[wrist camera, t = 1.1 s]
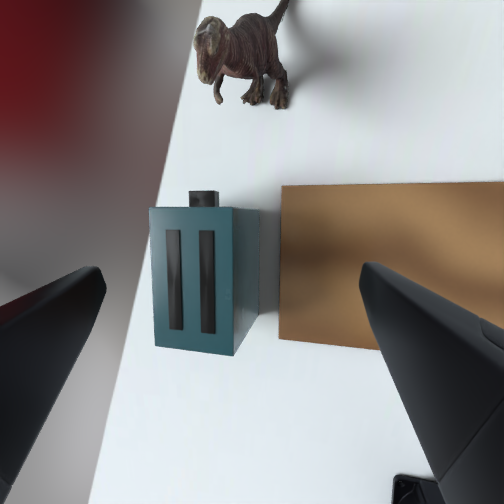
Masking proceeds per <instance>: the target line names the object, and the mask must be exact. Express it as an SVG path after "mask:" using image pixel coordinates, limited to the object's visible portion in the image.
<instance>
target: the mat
mask: <svg viewBox="0 0 504 504" xmlns="http://www.w3.org/2000/svg"><path fill="white" fill-rule="evenodd" d="M365 262H378V263H380V264H382V265H384V266H386V267H388V268H390V269H391V270H393V271H395V272H397V273H399V274H401V275H403V276H405V277H406V278H408V279H410V280H412V281H414V282H416V283H418V284H420V285H421V286H423V287H425V288H427V289H429V290H431V291H433V292H435V293H436V294H438V295H440V296H442V297H444V298H446V299H448V300H450V301H451V302H453V303H455V304H457V305H459V306H461V307H463V308H465V309H467V310H468V311H470V312H472V313H474V314H476V315H478V316H479V318H484V319H485V320H487V321H489V322H491V323H493V324H495V325H497V326H499V327H500V328H502V329H504V182H463V183H408V184H354V185H299V186H282V194H281V244H280V294H279V339H284V340H293V341H302V342H311V343H319V344H328V345H337V346H346V347H355V348H364V349H373V350H380V348H379V346H378V344H377V341H376V339H375V337H374V334H373V332H372V329H371V327H370V324H369V321H368V317H367V314H366V310H365V307H364V304H363V300H362V297H361V293H360V290H359V278H360V274H361V269H362V265H363V263H365Z"/></svg>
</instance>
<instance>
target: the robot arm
mask: <svg viewBox="0 0 504 504" xmlns="http://www.w3.org/2000/svg"><path fill="white" fill-rule="evenodd" d="M106 289H107V288H106V283H105V281H104V278H103V275H102V273H101V270H100V269H99V268H98V267H97V266H86V267H83V268H81V269H79V270H77V271H74V272H72V273H70V274H68V275H66V276H64V277H62V278H59V279H57V280H55V281H53V282H51V283H49V284H47V285H45V286H42V287H40V288H38V289H36V290H34V291H32V292H30V293H28V294H26V295H23V296H21V297H19V298H17V299H15V300H13V301H11V302H9V303H6V304H5V305H2V306H0V504H4V502H5V500H6V498H7V496H8V494H9V492H10V490H11V488H12V485H13V483H14V482H15V480H16V478H17V476H18V474H19V472H20V470H21V468H22V466H23V464H24V462H25V460H26V458H27V456H28V454H29V452H30V451H31V449H32V446H33V445H34V443H35V441H36V439H37V437H38V435H39V432H40V431H41V429H42V427H43V425H44V423H45V421H46V419H47V417H48V415H49V413H50V411H51V409H52V407H53V405H54V403H55V401H56V399H57V397H58V396H59V394H60V392H61V390H62V388H63V386H64V384H65V382H66V380H67V378H68V376H69V374H70V372H71V370H72V368H73V366H74V364H75V362H76V360H77V358H78V356H79V354H80V352H81V350H82V348H83V346H84V345H85V343H86V341H87V339H88V337H89V335H90V332H91V330H92V328H93V326H94V323H95V320H96V317H97V315H98V312H99V310H100V307H101V304H102V302H103V299H104V296H105V294H106ZM359 290H360V293H361V297H362V300H363V304H364V307H365V310H366V314H367V317H368V321H369V324H370V327H371V329H372V332H373V334H374V337H375V339H376V341H377V344H378V346H379V348H380V351H381V353H382V355H383V358H384V360H385V362H386V365H387V367H388V369H389V372H390V374H391V376H392V379H393V381H394V383H395V386H396V388H397V390H398V393H399V395H400V397H401V400H402V402H403V404H404V407H405V409H406V411H407V414H408V416H409V418H410V421H411V423H412V425H413V428H414V430H415V432H416V435H417V437H418V439H419V442H420V444H421V446H422V449H423V451H424V453H425V456H426V458H427V460H428V463H429V465H430V467H431V470H432V472H433V474H434V477H435V479H436V481H437V482H438V483H436V482H431V481H426V480H421V479H417V478H412V477H407V476H402V475H396V476H395V477H394V479H393V490H392V502H391V504H504V329H502V328H500V327H499V326H497V325H495V324H493V323H491V322H489V321H487V320H485V319H484V318H479V316H478V315H476V314H474V313H472V312H470V311H468V310H467V309H465V308H463V307H461V306H459V305H457V304H455V303H453V302H451V301H450V300H448V299H446V298H444V297H442V296H440V295H438V294H436V293H435V292H433V291H431V290H429V289H427V288H425V287H423V286H421V285H420V284H418V283H416V282H414V281H412V280H410V279H408V278H406V277H405V276H403V275H401V274H399V273H397V272H395V271H393V270H391V269H390V268H388V267H386V266H384V265H382V264H380V263H378V262H365V263H363V265H362V269H361V274H360V278H359Z"/></svg>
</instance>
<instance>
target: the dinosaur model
mask: <svg viewBox="0 0 504 504" xmlns="http://www.w3.org/2000/svg"><path fill="white" fill-rule="evenodd" d="M288 2H289V0H281V1H280V3H279V5H278V6H277V8H276V9H275V11H274V12H273V13H272V14H271V15H270V16H268V17H263V16H261V15H259V14H257V13H250V14H245V15H243V16H241V17H240V18H239V19H238V20H237V22H236V23H235V25H234V26H233V27H231V28H229V29H228V27H226V25H225V24H224V22H223V21H222V20H221V19H219V18H217V17H214V16H208V17H206V18H204V20H203V21H202V23H201V24H200V25H199V27H198V28H197V30H196V34H195V36H194V42H193V46H194V48H195V50H196V52H197V74H198V77H199V79H200V81H201V82H202V83H204V84H209V85H212V84H213V83H214V81H215V83H214V97H215V100H216V102H217V103H218V104H219V105H220V104H221V103H223V98H222V96H221V94H220V87H221V84H222V82H223V77H224V75H227V76H230V77H234V78H241V79H253V82H252V84H251V86H250V89H249V90H248V91H247V92H246V93H245V94H244V95H243V96H242V97H241V99H242V100H243V99H244V100H243V104H245V102H248V103H250V105H252V106H254V105H255V104H257V103H261V101H262V99H263V98H264V96H263V92H264V86H263V84H264V80H263V75H264V74H268V76H269V77H270V78H271V79H274V80H276V83H275V87H274V89H273V92H272V93H271V96H270V102H269V103H270V104H271V105H274V106H275V109H279V108H280V107H281V108H282V109H285V108H286V105H287V100H288V92H289V89H288V79H287V72H286V70H284V69H283V66H282V64H281V63H280V62H279V58H278V47H277V40H276V36H275V34H276V32H277V29H278V25H279V23H280V21H281V19H282V17H284V15H283V13H284V14H285V11H286V9H287V7H288ZM282 20H283V19H282Z"/></svg>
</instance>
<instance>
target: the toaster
mask: <svg viewBox="0 0 504 504" xmlns="http://www.w3.org/2000/svg"><path fill="white" fill-rule="evenodd" d="M149 224H150V247H151V269H152V291H153V313H154V335H155V346H159V347H166V348H174V349H181V350H189V351H197V352H204V353H212V354H219V355H227V356H234V354H235V353H236V351H237V349H238V348H239V346H240V344H241V343H242V341H243V339H244V338H245V336H246V334H247V333H248V331H249V330H250V328H251V326H252V325H253V323H254V321H255V320H256V318H257V316H258V315H259V209H250V208H238V207H219V192H218V191H189V207H149Z"/></svg>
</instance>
